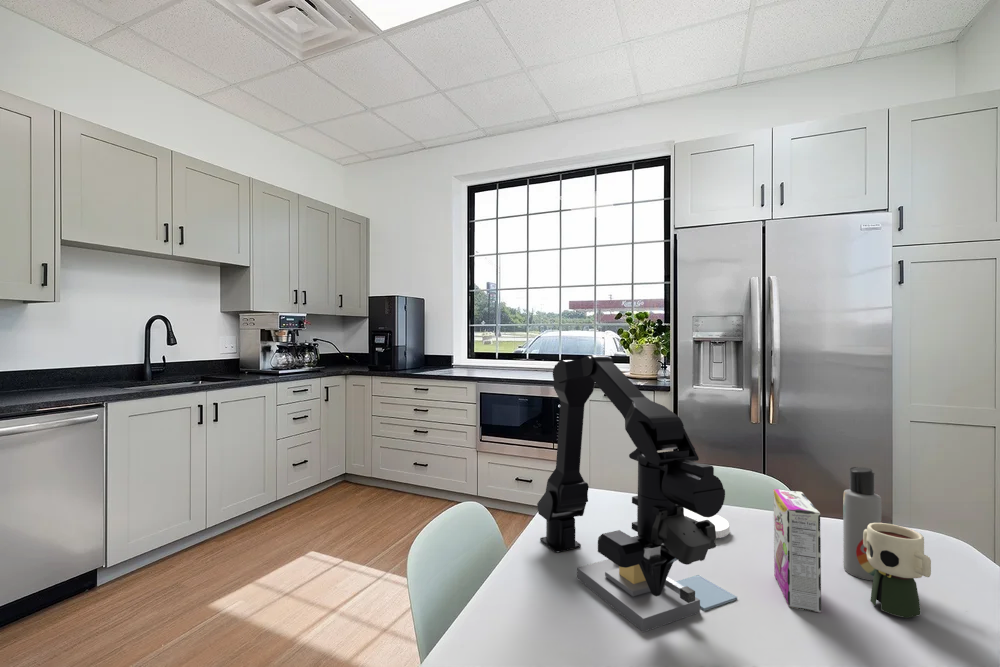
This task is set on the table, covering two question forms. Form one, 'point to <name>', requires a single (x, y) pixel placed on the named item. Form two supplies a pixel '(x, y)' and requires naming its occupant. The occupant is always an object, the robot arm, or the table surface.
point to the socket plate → (636, 599)
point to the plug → (629, 579)
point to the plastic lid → (717, 520)
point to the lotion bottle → (859, 521)
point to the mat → (707, 592)
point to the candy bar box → (797, 550)
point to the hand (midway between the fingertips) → (655, 594)
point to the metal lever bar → (681, 590)
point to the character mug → (896, 567)
